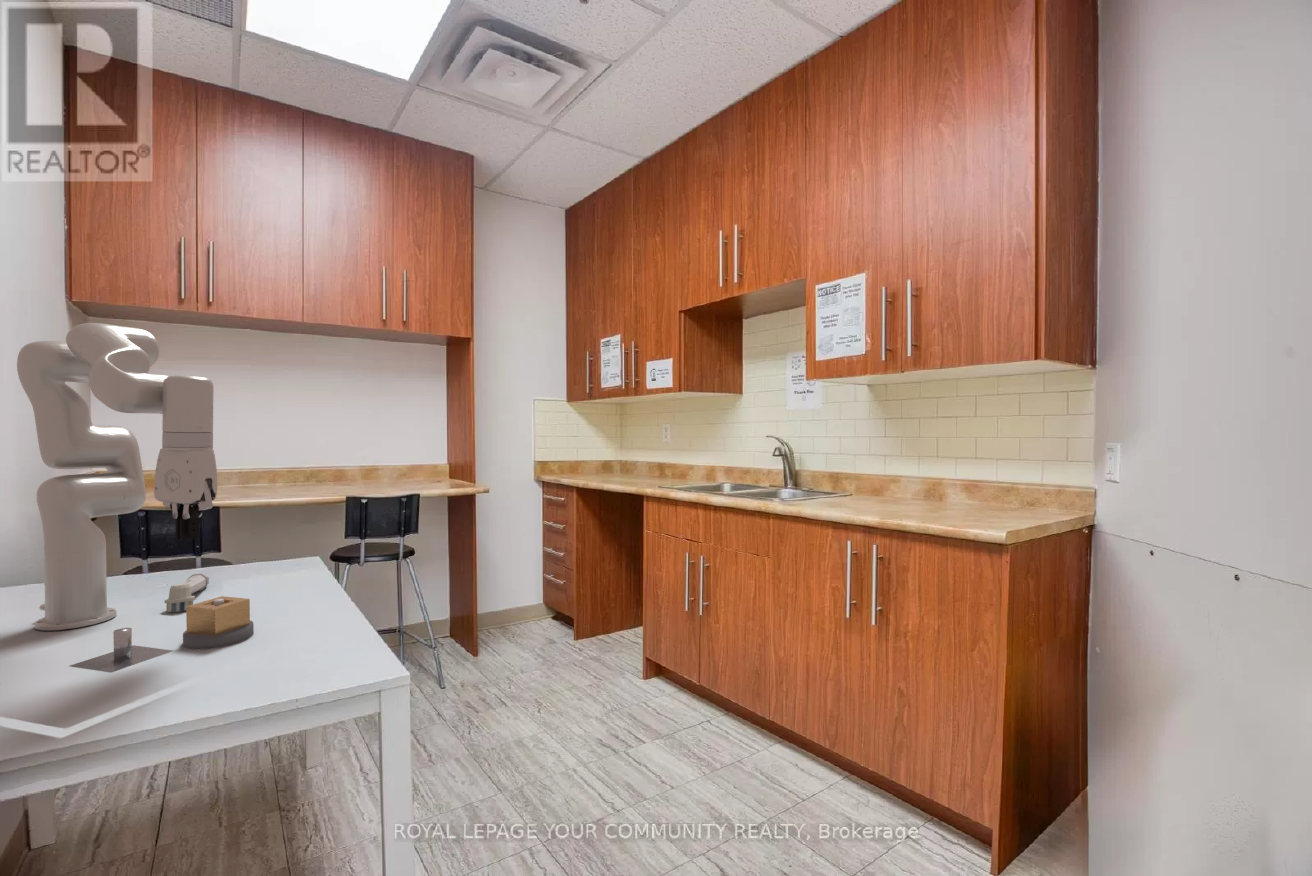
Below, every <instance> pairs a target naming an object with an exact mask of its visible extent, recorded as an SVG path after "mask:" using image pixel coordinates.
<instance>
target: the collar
mask: <svg viewBox="0 0 1312 876" xmlns="http://www.w3.org/2000/svg"><path fill="white" fill-rule="evenodd" d="M216 599H224V604H222V605H218V606H212V605H214V600H216ZM250 603H251V602H250V598H243V597H234V596H233V597H232V596H231V597H230V596H222V595H221V596H217V597H215V598H212V599H208V600H204V601H200V602H197V603H193V605H189V606H186V610H185V612H186V616H185V617H186V618H185V619H186V623H185V624H186V630H187V633H194V634H202V635H211V636H217V635H220V634H223V633H226V632H229V631H231V630H234V629H237V628H240V627H243V626H246V625H249V624H250V619H251V614H250V609H251V607H250V606H251V605H250Z"/></svg>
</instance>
